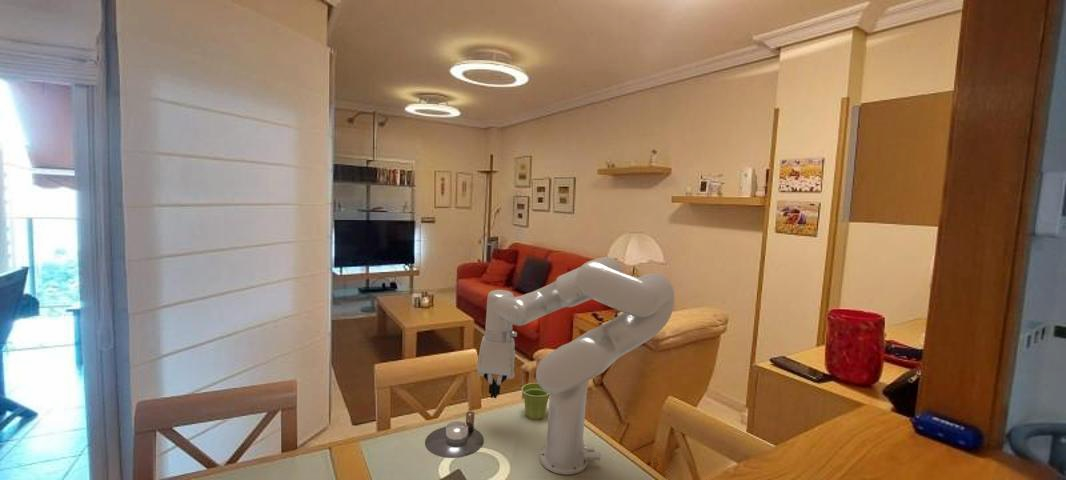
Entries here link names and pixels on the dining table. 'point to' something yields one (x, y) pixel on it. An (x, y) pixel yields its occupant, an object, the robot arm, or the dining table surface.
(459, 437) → the cover
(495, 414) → the dining table surface
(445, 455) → the turntable
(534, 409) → the plant pot
